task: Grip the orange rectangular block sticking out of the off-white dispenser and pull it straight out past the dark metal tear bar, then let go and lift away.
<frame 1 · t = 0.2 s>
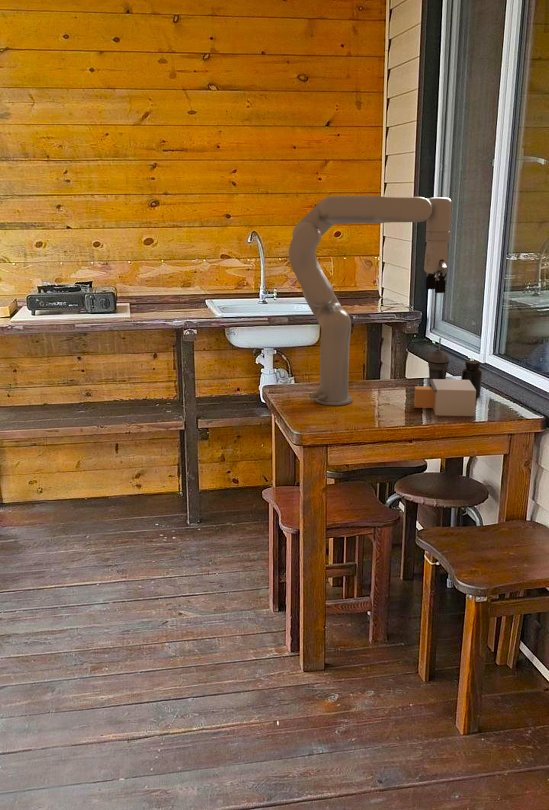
hand: (435, 291, 245), 37 cm above the table, tool pointing down, fingers open, 9 cm apart
dispenser: (452, 409, 242), on the table
orange rectangular block: (433, 397, 242), point 4 cm above the table, slide at 0.0 cm
beverage cup: (436, 394, 262), on the table
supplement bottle: (470, 396, 259), on the table
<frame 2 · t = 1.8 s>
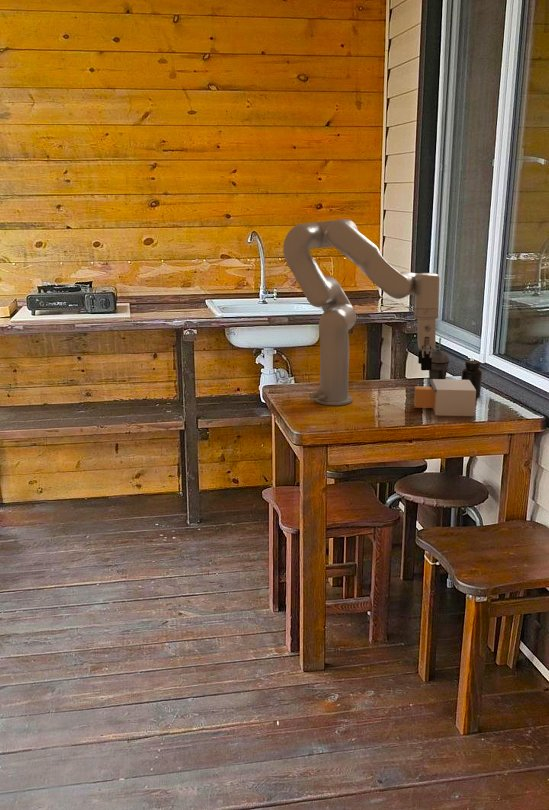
hand: (424, 366, 239), 14 cm above the table, tool pointing down, fingers open, 9 cm apart
nothing on the table moved.
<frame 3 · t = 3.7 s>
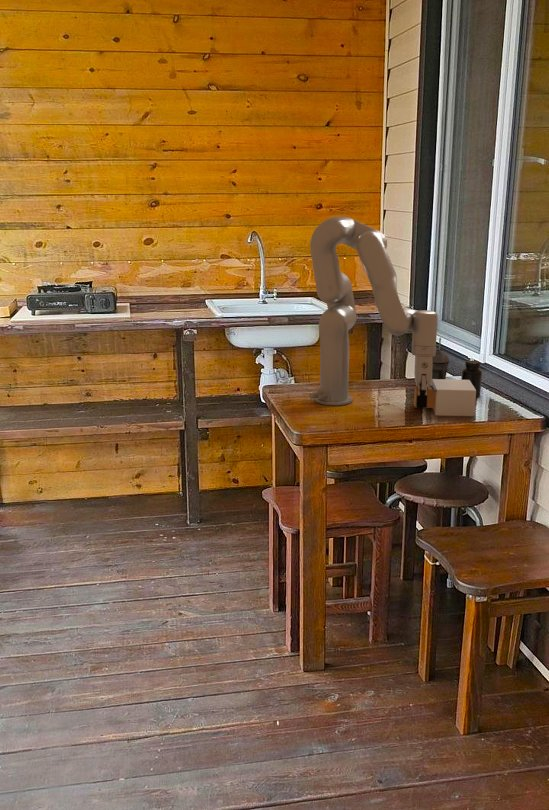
hand: (420, 404, 243), 1 cm above the table, tool pointing down, fingers closed on orange rectangular block, 4 cm apart
orange rectangular block: (433, 397, 242), point 4 cm above the table, slide at 0.0 cm, touching gripper
everything else where it was.
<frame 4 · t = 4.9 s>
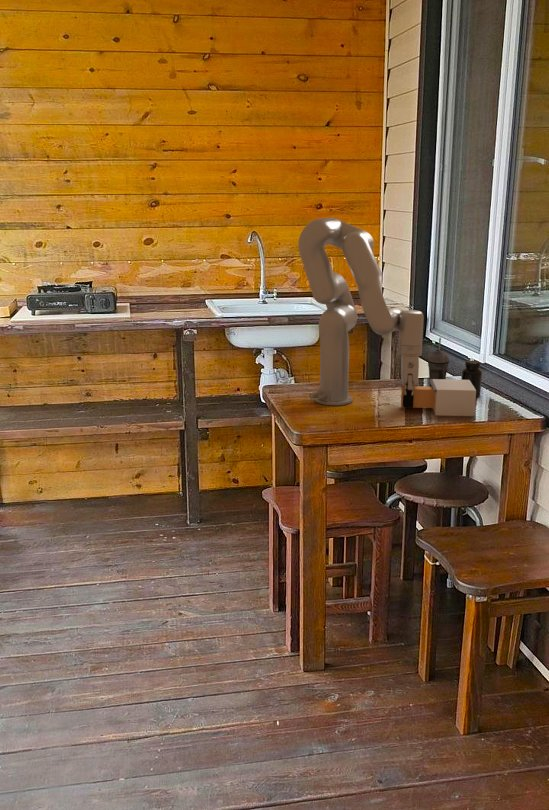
hand: (407, 404, 243), 1 cm above the table, tool pointing down, fingers closed on orange rectangular block, 4 cm apart
orange rectangular block: (420, 396, 242), point 4 cm above the table, slide at 4.3 cm, touching gripper
everything else where it was.
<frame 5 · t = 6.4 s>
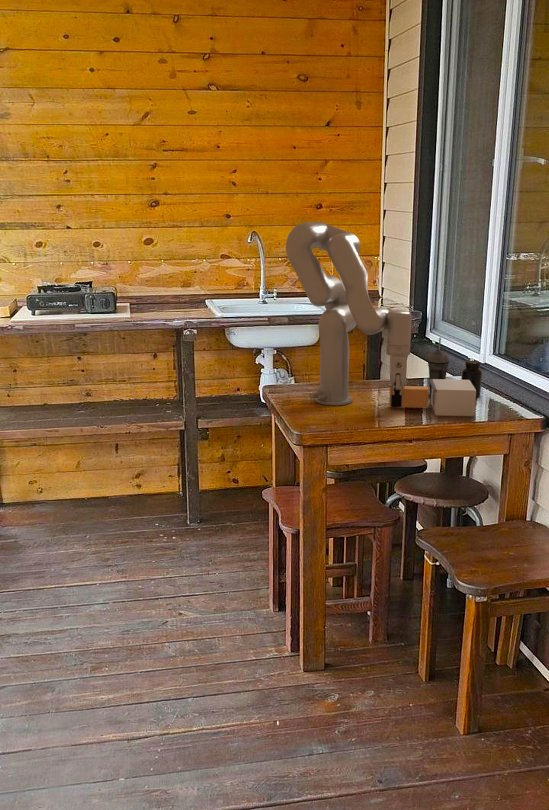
hand: (395, 404, 244), 1 cm above the table, tool pointing down, fingers closed on orange rectangular block, 4 cm apart
orange rectangular block: (408, 396, 243), point 4 cm above the table, slide at 8.0 cm, touching gripper
everything else where it was.
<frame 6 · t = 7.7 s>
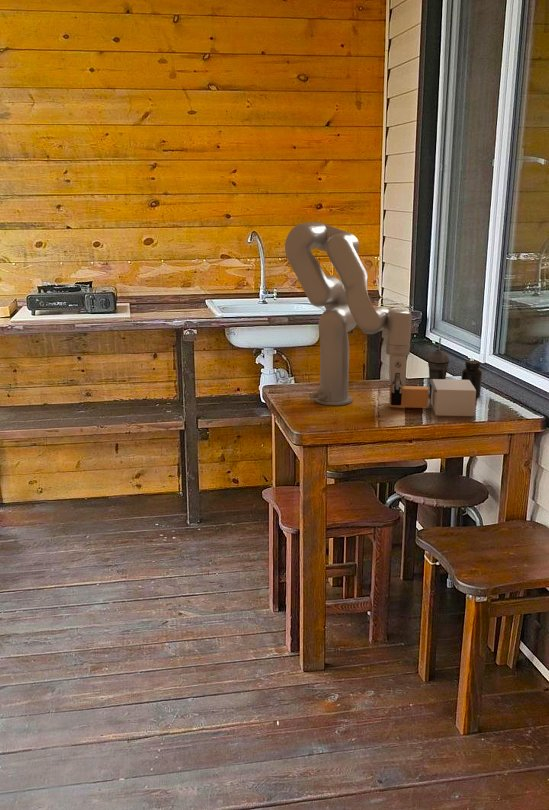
hand: (395, 400, 243), 2 cm above the table, tool pointing down, fingers open, 9 cm apart
orange rectangular block: (408, 396, 243), point 4 cm above the table, slide at 8.0 cm
everything else where it was.
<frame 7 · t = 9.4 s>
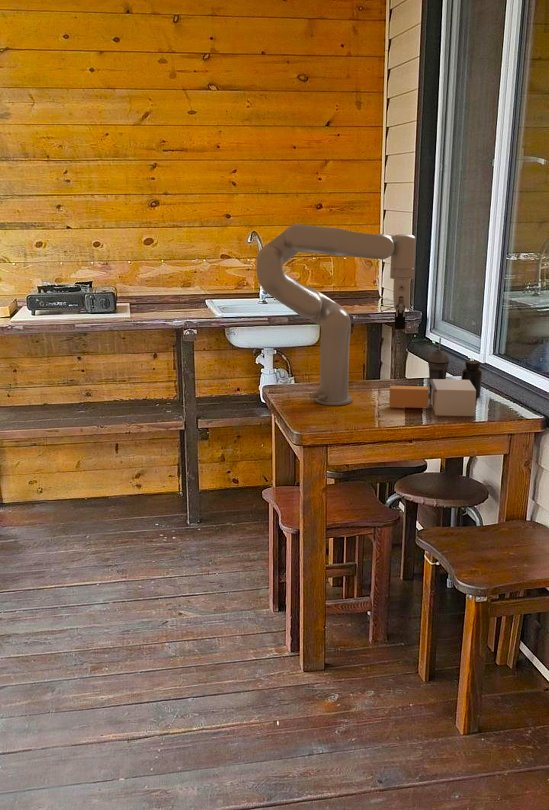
hand: (399, 326, 246), 25 cm above the table, tool pointing down, fingers open, 9 cm apart
nothing on the table moved.
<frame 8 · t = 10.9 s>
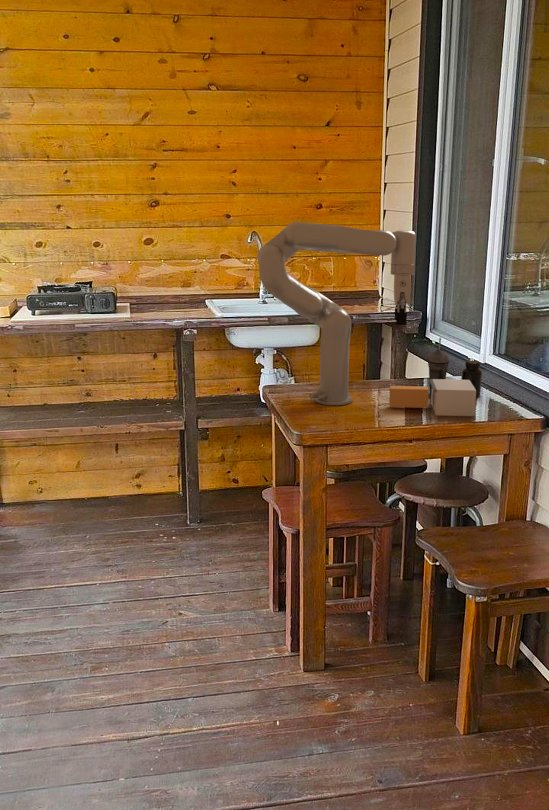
hand: (400, 322, 248), 26 cm above the table, tool pointing down, fingers open, 9 cm apart
nothing on the table moved.
at the end: orange rectangular block slide at 8.0 cm; the gripper is holding nothing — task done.
